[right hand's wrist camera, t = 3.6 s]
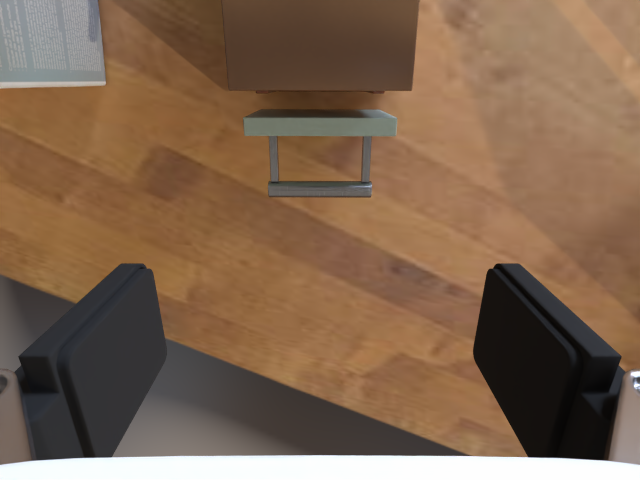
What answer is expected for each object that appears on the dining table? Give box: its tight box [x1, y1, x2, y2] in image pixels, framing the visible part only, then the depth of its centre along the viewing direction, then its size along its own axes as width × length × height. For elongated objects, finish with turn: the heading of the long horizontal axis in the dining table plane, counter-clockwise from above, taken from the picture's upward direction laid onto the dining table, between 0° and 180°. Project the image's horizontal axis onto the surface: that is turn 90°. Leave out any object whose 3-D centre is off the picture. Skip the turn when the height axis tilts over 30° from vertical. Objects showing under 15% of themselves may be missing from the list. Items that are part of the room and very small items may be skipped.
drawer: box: [243, 90, 397, 197], centre depth 28 cm, size 24×10×8 cm, turn 0°
